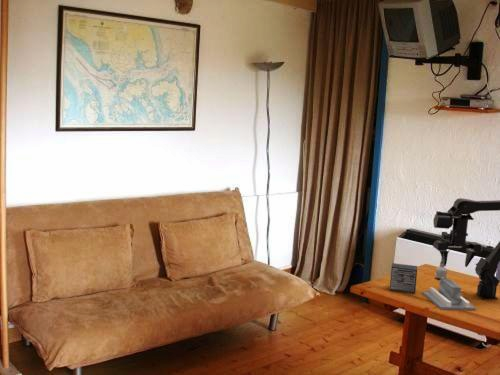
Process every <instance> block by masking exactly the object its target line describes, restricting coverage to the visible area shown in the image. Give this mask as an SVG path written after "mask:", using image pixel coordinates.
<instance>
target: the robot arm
mask: <svg viewBox="0 0 500 375" xmlns="http://www.w3.org/2000/svg"><path fill="white" fill-rule="evenodd" d="M488 211H489V212H490V211H491V212H492V211H497V212H499V211H500V200H497V199H496V200H473V199H467V198H461V197H460V198H456V200H454V202H453V205H452V206H451V207H450V208H449V209H448V210H447V212H446V211H437V210H436V212H435V215H434V217H433V228H434V229H445V230H450V232H449V233H448V231H442V232H441V235H440V237H441V240H434V242H433V245H432V247H433V248H435V249H436V250H437V251H438V252H439V254H440V256H441V259H442V261H443V265H444V267H446V265H447V264H448V263H447V262H448V255H449V252H448V251H449V249H463V250H464V249H465V252H466V254H465V261H464V266H465V268H467V267H469V264H470V263H471V262H472V260H473V258H474V257H475V256H476V255H477V254H479V253H481V252H483V246H482V244H480V243H478V242H476V241H468V242H466V241H467V237H469V233H468V232H467V231H468V224H469V221H474V220H475V218H474V217H473V216H472V215H471V214H473V213H474V214H475V213H476V212H488ZM450 228H452V229H450ZM442 240H443V241H442ZM444 240H445V242H444ZM499 263H500V241H498V243H497V244H496V245H495V247H494V248H493V250H492V251H491V253H489V255H488V256H487V257H485V258H484V257H480V259H479V260H478V262H477V263H476V264H475V268H474V270H475V274H476V275H477V276H478V278H479V281H478V282H479V283H478V285H477V290H476V293H475V295H477V296H478V297H479V298H481V299H483V300H498V297H497V296H496V295H497V287H498V285H499V284H500V280H499V279H498V278H497V277H496V272H497V271H498V267H499Z"/></svg>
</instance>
